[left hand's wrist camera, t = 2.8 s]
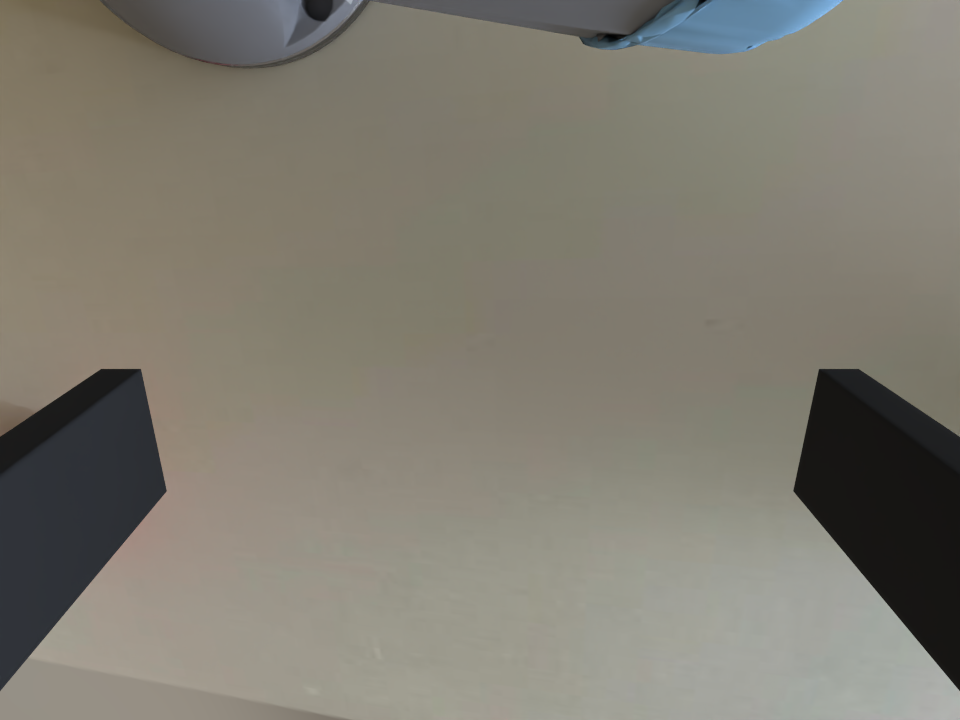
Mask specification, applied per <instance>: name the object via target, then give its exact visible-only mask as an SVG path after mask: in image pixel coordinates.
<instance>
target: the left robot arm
mask: <svg viewBox="0 0 960 720" xmlns="http://www.w3.org/2000/svg"><path fill="white" fill-rule="evenodd" d="M100 1H101V2H102V3H103V4H104V5H105V6H106V7H107V8H108V9H109V10H111V11H112V12H113V13H114V14H115V15H116V16H118V17H119V18H120V19H121V20H123V21H124V22H125V23H126V24H128V25H129V26H131V27H132V28H134V29H135V30H137V31H138V32H140V33H141V34H143V35H144V36H146V37H147V38H149V39H151V40H152V41H154V42H155V43H157V44H159V45H161V46H163V47H165V48H167V49H169V50H171V51H174V52H176V53H178V54H181V55H183V56H186V57H189V58H192V59H196V60H199V61H202V62H207V63H212V64H217V65H222V66H227V67H236V68H264V67H272V66H278V65H282V64H286V63H290V62H293V61H296V60H298V59H301V58H304V57H306V56H308V55H310V54H312V53H314V52H316V51H318V50H320V49H321V48H323V47H324V46H326V45H327V44H329V43H330V42H332V41H333V40H334V39H335V38H337V37H338V36H339V35H340V34H341V33H343V32H344V31H345V30H346V29H347V28H348V27H349V26H350V25H351V24H352V23H353V22H354V21H355V20H356V18H357V17H358V16H359V15H360V13H361V12H362V11H363V9H364V8H365V7H366V5H367V4H368V2H369V1H375V2H381V3H387V4H393V5H399V6H404V7H410V8H416V9H422V10H428V11H433V12H439V13H445V14H451V15H457V16H462V17H468V18H474V19H480V20H486V21H491V22H497V23H503V24H509V25H515V26H520V27H526V28H532V29H538V30H544V31H549V32H555V33H561V34H567V35H573V36H578V37H579V38H580V39H581V41H582V42H583V44H585V45H587V46H590V47H594V48H599V49H608V50H617V49H622V48H626V47H631V46H635V45H644V46H652V47H660V48H668V49H677V50H685V51H693V52H701V53H711V54H729V53H737V52H744V51H748V50H751V49H754V48H756V47H757V46H759V45H761V44H763V43H765V42H767V41H772V40H776V39H780V38H781V37H783V36H785V35H788V34H791V33H794V32H796V31H798V30H800V29H802V28H804V27H806V26H808V25H809V24H811V23H812V22H814V21H815V20H817V19H818V18H820V17H821V16H823V15H824V14H826V13H827V12H828V11H830V10H831V9H832V8H834V7H835V6H836V5H838V4H839V3H840V2H842V1H843V0H100ZM165 492H166V486H165V481H164V476H163V472H162V467H161V462H160V457H159V453H158V448H157V443H156V439H155V434H154V429H153V424H152V420H151V415H150V410H149V405H148V401H147V396H146V391H145V386H144V382H143V377H142V372H141V369H101V370H99V371H98V372H96V373H95V374H93V375H92V376H90V377H89V378H87V379H86V380H84V381H83V382H81V383H80V384H78V385H77V386H75V387H74V388H72V389H71V390H69V391H68V392H66V393H65V394H63V395H62V396H61V397H59V398H58V399H56V400H55V401H53V402H52V403H50V404H49V405H47V406H46V407H44V408H43V409H41V410H40V411H38V412H37V413H35V414H34V415H32V416H31V417H29V418H28V419H26V420H25V421H23V422H22V423H20V424H19V425H17V426H16V427H14V428H13V429H11V430H10V431H8V432H7V433H5V434H4V435H2V436H1V437H0V690H1V689H2V688H3V687H4V686H5V684H6V683H7V682H8V681H9V680H10V678H11V677H12V676H13V675H14V674H15V673H16V671H17V670H18V669H19V668H20V667H21V665H22V664H23V663H24V662H25V660H26V659H27V658H28V657H29V656H30V655H31V653H32V652H33V651H34V650H35V649H36V647H37V646H38V645H39V644H40V643H41V641H42V640H43V639H44V638H45V637H46V635H47V634H48V633H49V632H50V631H51V629H52V628H53V627H54V626H55V624H56V623H57V622H58V621H59V620H60V618H61V617H62V616H63V615H64V614H65V612H66V611H67V610H68V609H69V608H70V606H71V605H72V604H73V603H74V602H75V600H76V599H77V598H78V597H79V596H80V594H81V593H82V592H83V591H84V590H85V588H86V587H87V586H88V585H89V584H90V582H91V581H92V580H93V579H94V578H95V576H96V575H97V574H98V573H99V572H100V570H101V569H102V568H103V567H104V566H105V564H106V563H107V562H108V561H109V560H110V558H111V557H112V556H113V555H114V554H115V552H116V551H117V550H118V549H119V548H120V546H121V545H122V544H123V543H124V542H125V540H126V539H127V538H128V537H129V536H130V534H131V533H132V532H133V531H134V530H135V528H136V527H137V526H138V525H139V524H140V522H141V521H142V520H143V519H144V518H145V516H146V515H147V514H148V513H149V512H150V510H151V509H152V508H153V507H154V506H155V504H156V503H157V502H158V501H159V500H160V498H161V497H162V496H163V495H164V494H165ZM794 492H795V494H796V495H797V496H798V497H799V498H800V500H801V501H802V502H803V503H804V504H805V506H806V507H807V508H808V509H809V510H810V512H811V513H812V514H813V515H814V516H815V518H816V519H817V520H818V521H819V522H820V524H821V525H822V526H823V527H824V528H825V530H826V531H827V532H828V533H829V534H830V536H831V537H832V538H833V539H834V540H835V542H836V543H837V544H838V545H839V546H840V548H841V549H842V550H843V551H844V552H845V554H846V555H847V556H848V557H849V558H850V560H851V561H852V562H853V563H854V564H855V566H856V567H857V568H858V569H859V570H860V572H861V573H862V574H863V575H864V576H865V578H866V579H867V580H868V581H869V582H870V584H871V585H872V586H873V587H874V588H875V590H876V591H877V592H878V593H879V594H880V596H881V597H882V598H883V599H884V600H885V602H886V603H887V604H888V605H889V606H890V608H891V609H892V610H893V611H894V612H895V614H896V615H897V616H898V617H899V618H900V620H901V621H902V622H903V623H904V625H905V626H906V627H907V628H908V629H909V631H910V632H911V633H912V634H913V635H914V637H915V638H916V639H917V640H918V641H919V643H920V644H921V645H922V646H923V647H924V649H925V650H926V651H927V652H928V653H929V655H930V656H931V657H932V658H933V659H934V661H935V662H936V663H937V664H938V665H939V667H940V668H941V669H942V670H943V671H944V673H945V674H946V675H947V676H948V677H949V679H950V680H951V681H952V682H953V683H954V685H955V686H956V687H957V688H958V689H959V691H960V437H959V436H958V435H956V434H955V433H953V432H952V431H950V430H949V429H947V428H946V427H944V426H943V425H941V424H940V423H938V422H937V421H935V420H934V419H932V418H931V417H929V416H928V415H926V414H925V413H923V412H922V411H920V410H919V409H917V408H916V407H914V406H913V405H911V404H910V403H908V402H907V401H905V400H904V399H902V398H901V397H899V396H898V395H897V394H895V393H894V392H892V391H891V390H889V389H888V388H886V387H885V386H883V385H882V384H880V383H879V382H877V381H876V380H874V379H873V378H871V377H870V376H868V375H867V374H865V373H864V372H862V371H861V370H859V369H819V372H818V377H817V382H816V386H815V391H814V396H813V401H812V405H811V410H810V415H809V420H808V424H807V429H806V434H805V438H804V443H803V448H802V453H801V457H800V462H799V467H798V472H797V476H796V481H795V486H794Z"/></svg>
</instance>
